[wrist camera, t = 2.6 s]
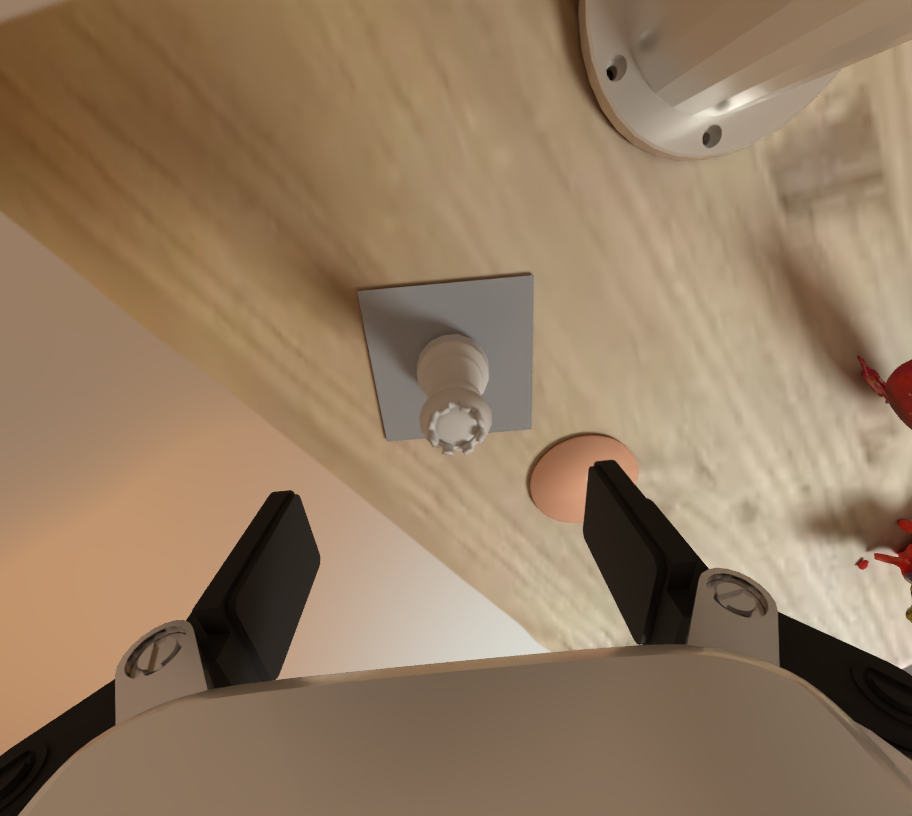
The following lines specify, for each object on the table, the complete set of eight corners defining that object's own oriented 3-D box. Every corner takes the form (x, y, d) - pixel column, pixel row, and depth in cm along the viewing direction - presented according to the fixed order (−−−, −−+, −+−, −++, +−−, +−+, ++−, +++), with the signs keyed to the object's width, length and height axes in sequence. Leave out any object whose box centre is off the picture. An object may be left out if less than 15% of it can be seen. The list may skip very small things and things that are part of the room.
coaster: (530, 439, 25) (531, 442, 25) (643, 430, 25) (646, 432, 25) (529, 524, 28) (530, 526, 28) (628, 515, 28) (630, 518, 28)
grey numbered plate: (357, 290, 20) (356, 291, 20) (532, 274, 20) (533, 275, 20) (387, 439, 25) (386, 441, 24) (530, 427, 24) (531, 429, 24)
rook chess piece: (404, 380, 22) (386, 449, 15) (438, 318, 21) (434, 363, 14) (465, 410, 23) (474, 488, 16) (501, 353, 22) (530, 412, 15)
